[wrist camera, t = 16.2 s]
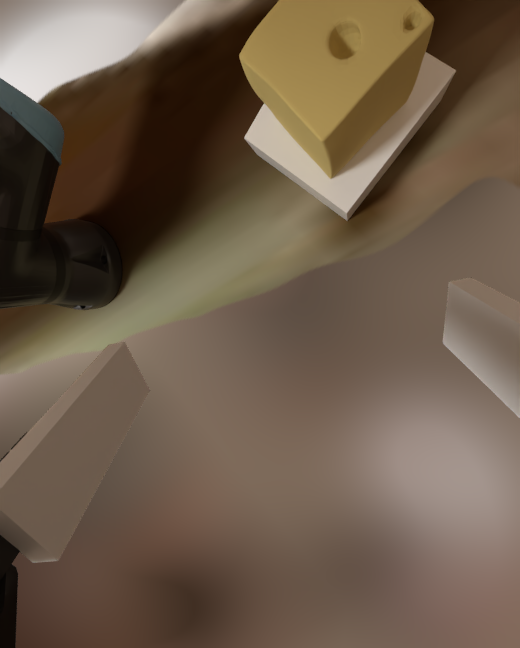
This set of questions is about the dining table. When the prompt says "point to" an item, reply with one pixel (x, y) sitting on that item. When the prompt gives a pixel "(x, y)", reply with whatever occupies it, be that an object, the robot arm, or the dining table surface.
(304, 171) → the stand
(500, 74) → the dining table surface
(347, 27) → the cheese
